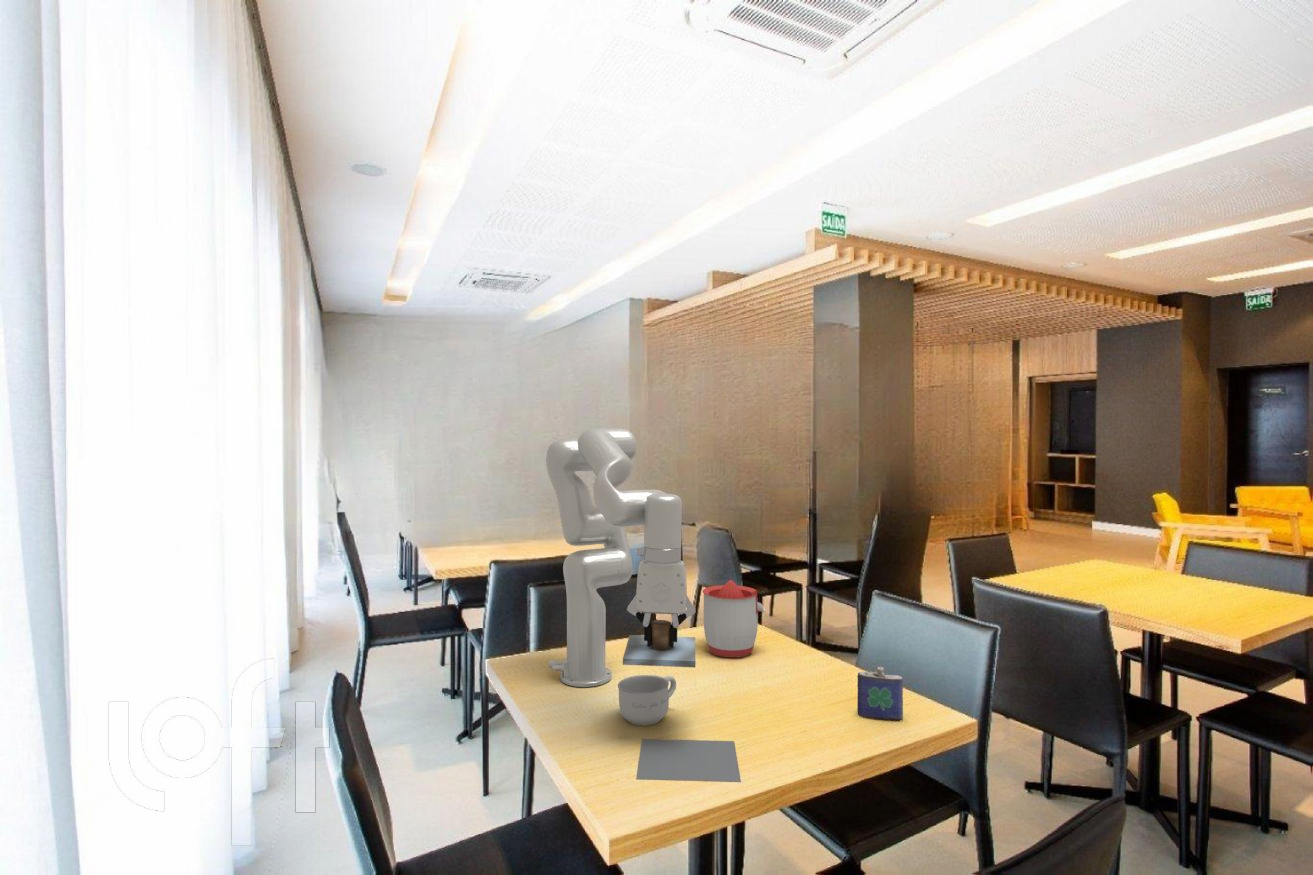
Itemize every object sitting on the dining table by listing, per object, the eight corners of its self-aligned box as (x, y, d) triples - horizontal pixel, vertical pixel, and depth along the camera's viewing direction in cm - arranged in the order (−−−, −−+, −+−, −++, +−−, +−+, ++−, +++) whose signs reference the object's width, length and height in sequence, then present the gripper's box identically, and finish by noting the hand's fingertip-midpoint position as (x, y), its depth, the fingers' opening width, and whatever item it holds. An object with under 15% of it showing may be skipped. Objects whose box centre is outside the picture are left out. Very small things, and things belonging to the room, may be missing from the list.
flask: (902, 717, 137) (902, 666, 137) (903, 722, 134) (903, 671, 134) (857, 712, 140) (857, 662, 140) (857, 717, 137) (857, 667, 137)
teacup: (631, 735, 128) (631, 695, 128) (609, 714, 138) (609, 677, 138) (691, 721, 135) (691, 683, 135) (666, 702, 144) (666, 667, 144)
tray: (636, 781, 111) (636, 778, 111) (641, 740, 126) (641, 738, 126) (740, 784, 110) (741, 781, 110) (734, 742, 125) (734, 740, 125)
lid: (622, 664, 124) (623, 632, 124) (629, 640, 138) (629, 611, 138) (695, 667, 123) (696, 635, 123) (694, 642, 137) (695, 613, 137)
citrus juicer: (766, 663, 170) (766, 587, 171) (700, 659, 173) (700, 585, 173) (764, 644, 186) (764, 575, 186) (703, 641, 188) (704, 573, 188)
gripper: (619, 557, 127) (617, 649, 127) (704, 560, 126) (702, 652, 126) (623, 550, 134) (621, 637, 135) (703, 552, 134) (701, 640, 134)
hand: (660, 643), depth 131 cm, fingers closed on lid, 4 cm apart
